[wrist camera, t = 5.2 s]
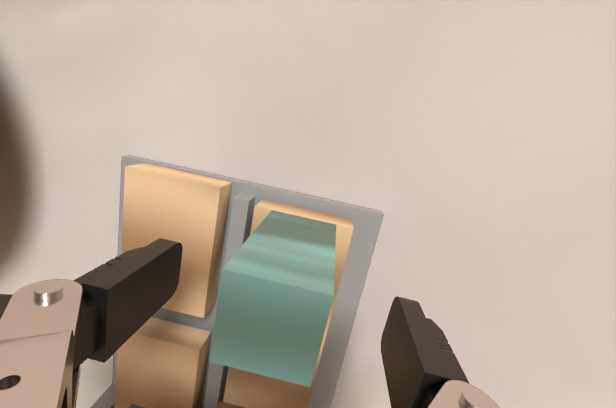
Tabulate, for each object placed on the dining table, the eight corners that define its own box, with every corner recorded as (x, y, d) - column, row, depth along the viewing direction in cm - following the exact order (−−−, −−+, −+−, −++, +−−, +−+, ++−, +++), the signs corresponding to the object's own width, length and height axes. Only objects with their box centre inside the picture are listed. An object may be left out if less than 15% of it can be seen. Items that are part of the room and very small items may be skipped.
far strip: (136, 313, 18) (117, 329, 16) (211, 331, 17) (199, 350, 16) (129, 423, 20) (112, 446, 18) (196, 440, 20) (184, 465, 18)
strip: (262, 199, 15) (193, 262, 8) (352, 218, 15) (364, 302, 8) (221, 447, 20) (151, 634, 12) (289, 465, 19) (260, 667, 12)
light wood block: (145, 162, 15) (125, 166, 14) (231, 182, 15) (220, 187, 14) (137, 283, 17) (119, 297, 16) (215, 301, 17) (203, 318, 15)
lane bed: (129, 155, 16) (-226, 199, 6) (382, 211, 16) (463, 366, 5) (117, 410, 21) (-96, 680, 11) (312, 462, 20) (284, 803, 10)
